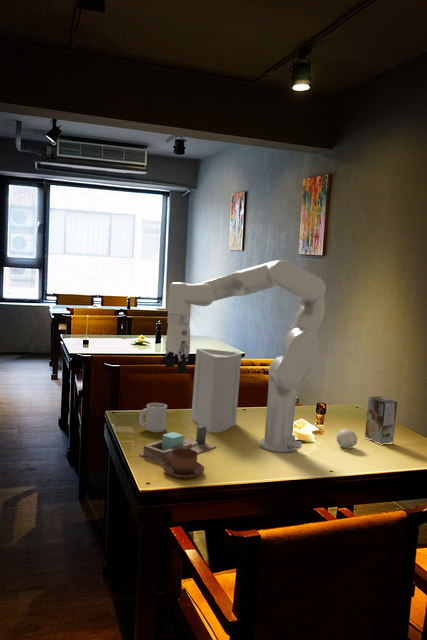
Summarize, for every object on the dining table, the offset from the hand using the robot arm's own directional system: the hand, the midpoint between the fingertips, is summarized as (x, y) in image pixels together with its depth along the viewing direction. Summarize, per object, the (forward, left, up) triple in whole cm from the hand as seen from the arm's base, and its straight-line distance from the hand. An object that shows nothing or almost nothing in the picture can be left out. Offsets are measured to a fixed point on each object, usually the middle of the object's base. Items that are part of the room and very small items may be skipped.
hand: (175, 369), depth 183 cm
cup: (+13, -5, -25) cm, 29 cm away
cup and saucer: (-22, +18, -25) cm, 38 cm away
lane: (-9, +5, -25) cm, 27 cm away
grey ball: (-45, -44, -25) cm, 67 cm away
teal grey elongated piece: (-9, +2, -24) cm, 26 cm away
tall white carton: (+2, -30, -25) cm, 39 cm away
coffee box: (-50, -62, -25) cm, 83 cm away
